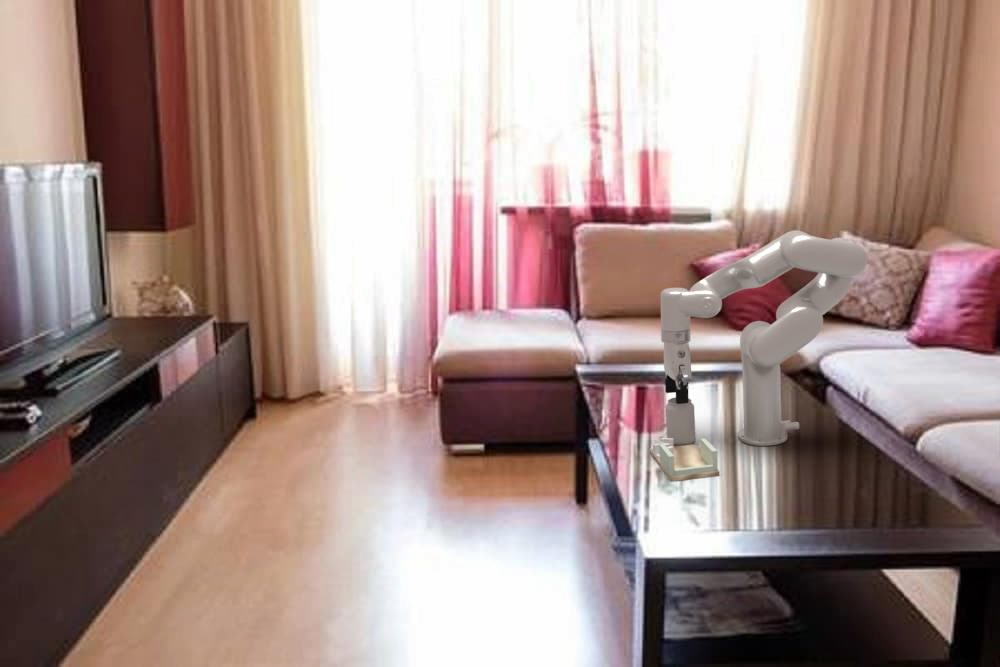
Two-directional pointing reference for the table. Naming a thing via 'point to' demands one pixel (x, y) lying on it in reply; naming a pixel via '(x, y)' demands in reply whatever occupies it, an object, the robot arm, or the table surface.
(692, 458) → the board
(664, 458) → the bracket
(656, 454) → the clip
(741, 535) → the table surface
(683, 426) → the can
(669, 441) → the clip
